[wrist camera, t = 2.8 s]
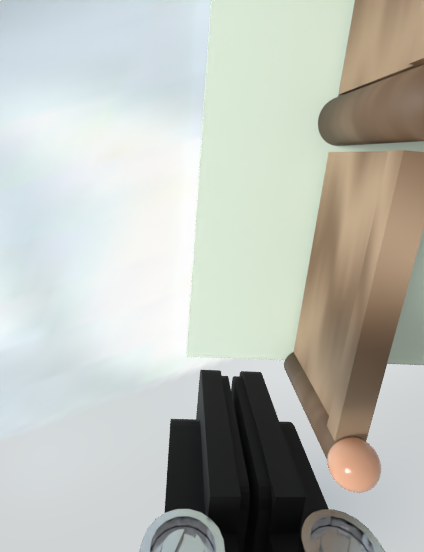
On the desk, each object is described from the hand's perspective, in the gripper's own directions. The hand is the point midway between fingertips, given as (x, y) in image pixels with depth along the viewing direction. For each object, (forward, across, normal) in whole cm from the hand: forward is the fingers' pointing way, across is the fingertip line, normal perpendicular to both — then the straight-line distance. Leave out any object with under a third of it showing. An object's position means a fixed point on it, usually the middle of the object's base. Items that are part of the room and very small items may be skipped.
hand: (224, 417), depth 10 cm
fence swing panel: (+8, -5, -2) cm, 10 cm away
